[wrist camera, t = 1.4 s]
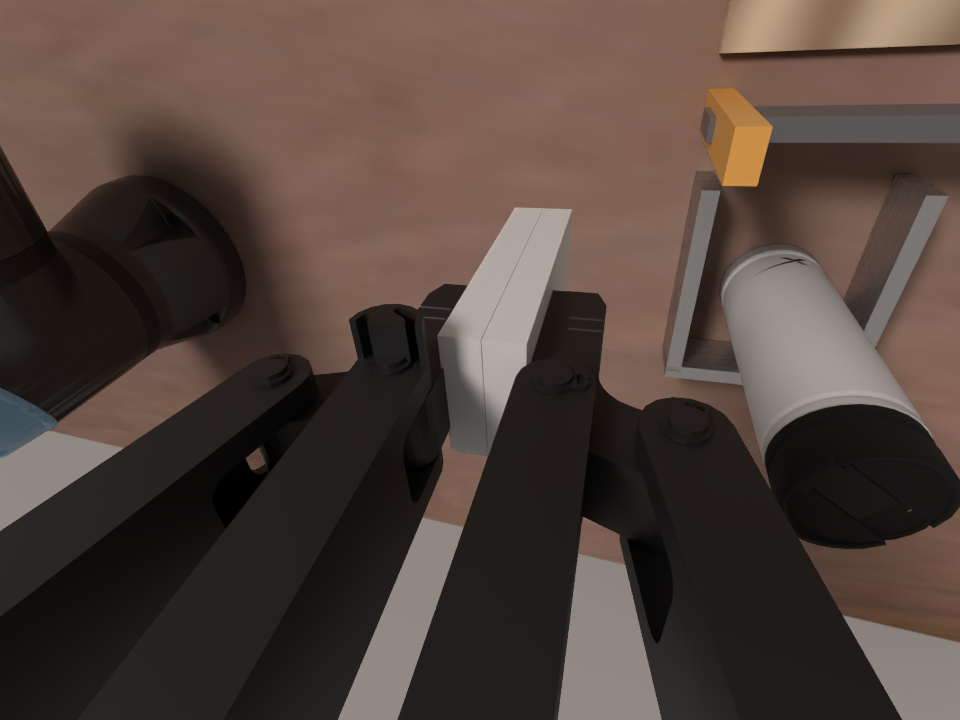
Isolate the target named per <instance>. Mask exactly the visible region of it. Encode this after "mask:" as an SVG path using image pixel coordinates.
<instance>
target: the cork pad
mask: <svg viewBox="0 0 960 720" xmlns="http://www.w3.org/2000/svg"><path fill="white" fill-rule="evenodd" d="M954 44H960V0H728V6H727V11H726V16H725V21H724V27H723V32H722V37H721V42H720V48H719V53H744V52H770V51H797V50H823V49H849V48H875V47H901V46H927V45H954Z"/></svg>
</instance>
